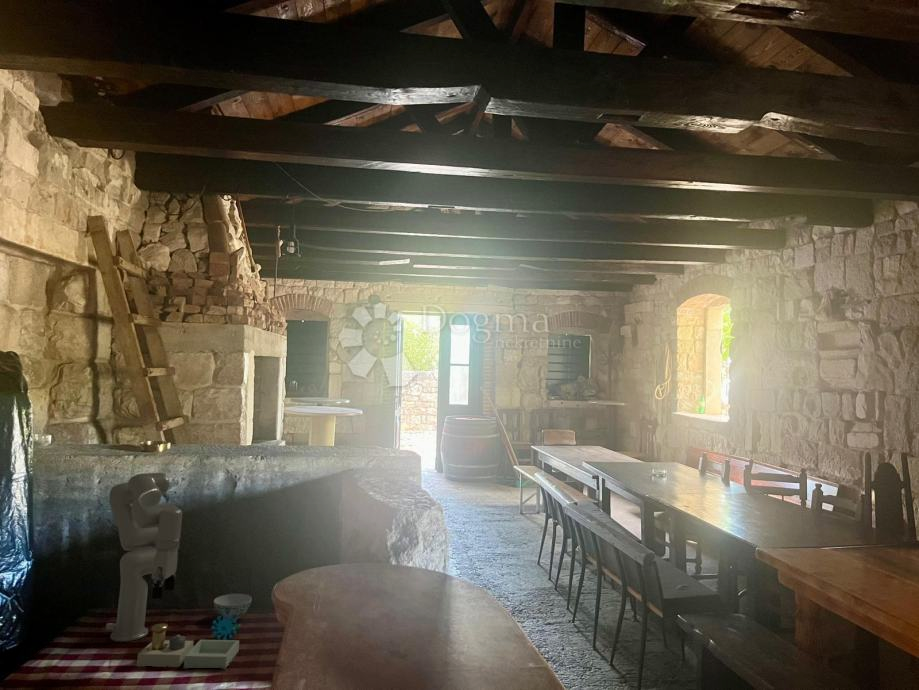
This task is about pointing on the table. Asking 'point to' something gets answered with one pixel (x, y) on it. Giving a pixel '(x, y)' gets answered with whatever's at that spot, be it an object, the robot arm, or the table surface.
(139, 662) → the beige boxy piece
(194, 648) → the tray
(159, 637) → the pin
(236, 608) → the chinaware
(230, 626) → the teal lobed piece
